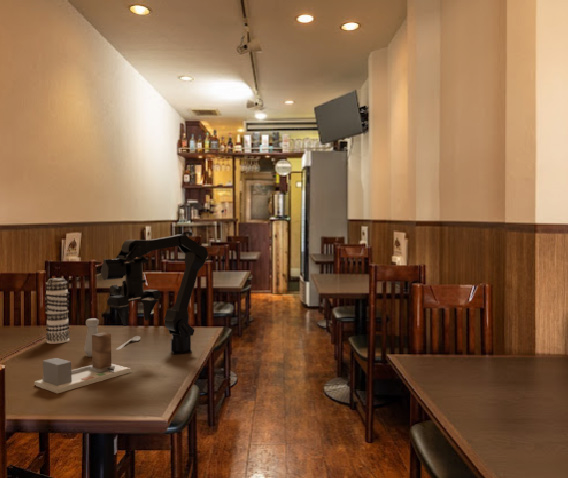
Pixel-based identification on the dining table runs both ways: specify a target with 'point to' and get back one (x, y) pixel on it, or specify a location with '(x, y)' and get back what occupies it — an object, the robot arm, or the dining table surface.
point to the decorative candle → (57, 311)
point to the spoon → (128, 341)
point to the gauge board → (72, 375)
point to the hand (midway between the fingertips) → (135, 323)
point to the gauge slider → (101, 352)
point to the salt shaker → (90, 335)
